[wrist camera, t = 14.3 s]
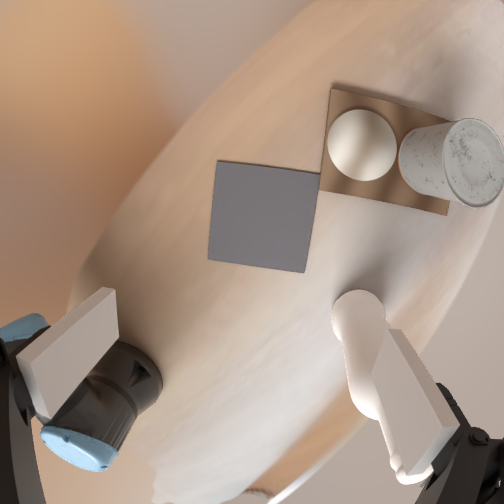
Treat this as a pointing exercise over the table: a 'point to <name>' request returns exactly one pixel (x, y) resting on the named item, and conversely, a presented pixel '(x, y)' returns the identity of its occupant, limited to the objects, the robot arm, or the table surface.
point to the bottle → (367, 362)
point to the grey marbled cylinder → (455, 162)
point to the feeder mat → (262, 216)
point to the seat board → (372, 150)
